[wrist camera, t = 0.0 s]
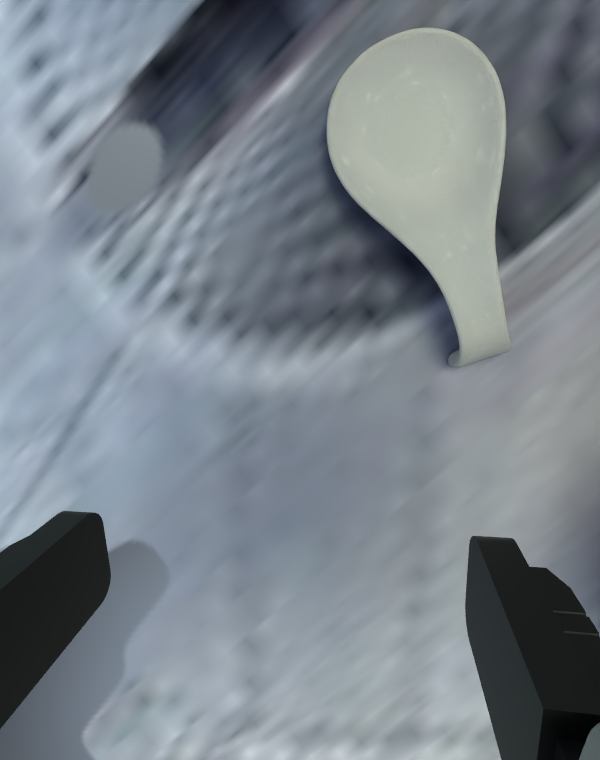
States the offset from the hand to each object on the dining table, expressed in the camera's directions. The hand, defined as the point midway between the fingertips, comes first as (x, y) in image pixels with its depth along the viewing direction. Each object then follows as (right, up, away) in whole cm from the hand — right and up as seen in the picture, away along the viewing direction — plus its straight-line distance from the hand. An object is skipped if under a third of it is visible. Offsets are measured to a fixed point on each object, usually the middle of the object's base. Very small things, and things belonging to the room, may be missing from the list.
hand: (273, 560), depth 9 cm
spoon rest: (+11, +17, +25) cm, 32 cm away
